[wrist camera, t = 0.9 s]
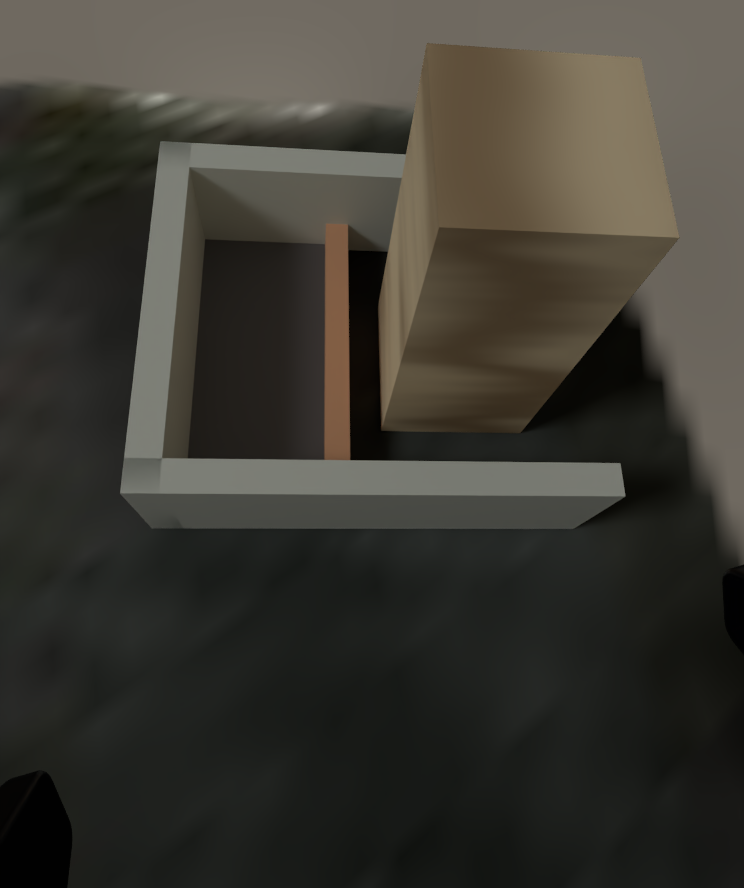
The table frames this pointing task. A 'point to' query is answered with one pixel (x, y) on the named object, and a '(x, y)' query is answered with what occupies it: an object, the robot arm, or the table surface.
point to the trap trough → (290, 362)
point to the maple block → (514, 231)
